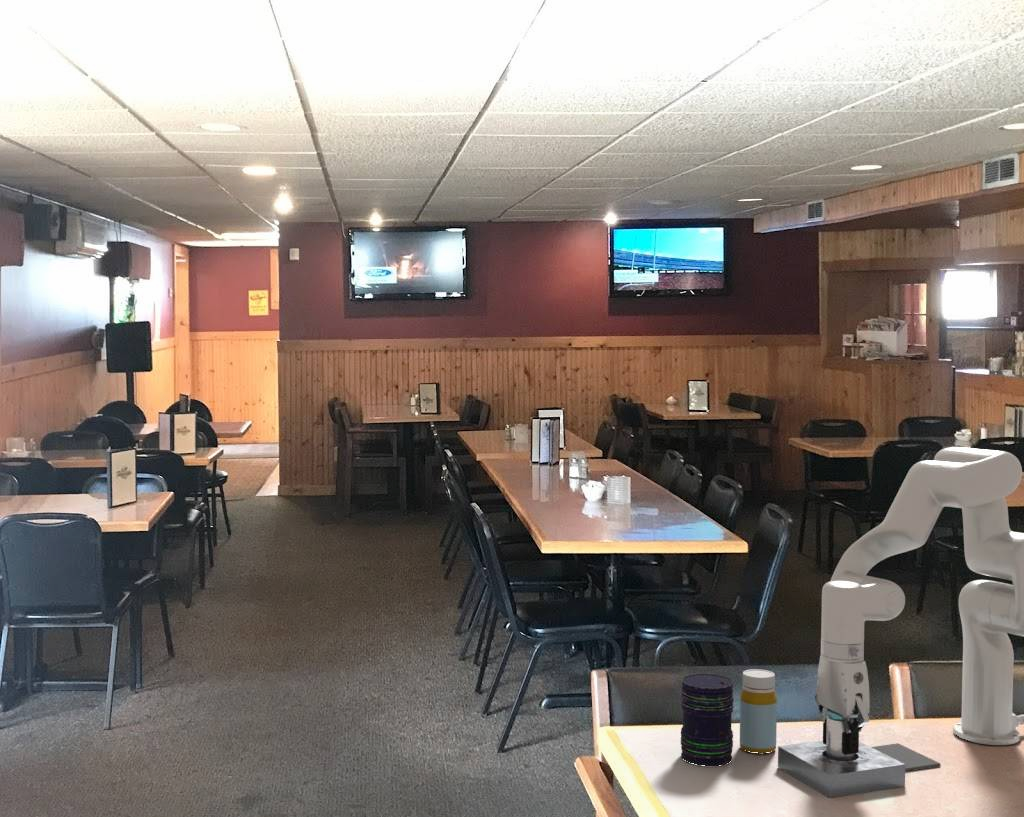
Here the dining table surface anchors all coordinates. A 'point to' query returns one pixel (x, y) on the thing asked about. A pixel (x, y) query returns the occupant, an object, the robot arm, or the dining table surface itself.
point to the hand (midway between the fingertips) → (840, 747)
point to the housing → (841, 769)
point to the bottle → (758, 711)
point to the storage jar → (707, 719)
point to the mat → (907, 756)
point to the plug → (836, 737)
